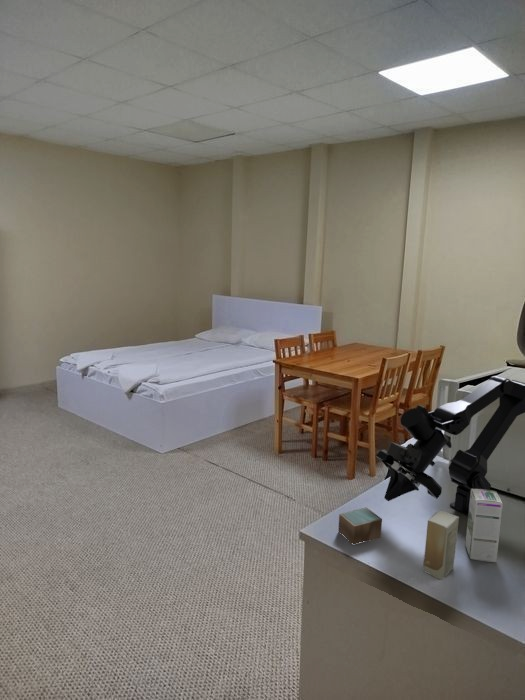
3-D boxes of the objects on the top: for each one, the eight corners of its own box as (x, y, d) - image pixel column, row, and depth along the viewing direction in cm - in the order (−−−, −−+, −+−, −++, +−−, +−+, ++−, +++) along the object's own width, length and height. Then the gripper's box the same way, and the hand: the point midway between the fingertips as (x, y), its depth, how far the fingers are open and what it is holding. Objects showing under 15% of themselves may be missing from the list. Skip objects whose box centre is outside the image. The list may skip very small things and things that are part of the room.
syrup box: (497, 563, 108) (505, 502, 105) (468, 559, 109) (475, 499, 106) (490, 548, 113) (498, 490, 111) (463, 544, 114) (470, 487, 112)
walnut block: (366, 507, 121) (339, 513, 117) (382, 518, 116) (354, 526, 112) (365, 525, 122) (338, 532, 118) (380, 538, 117) (353, 546, 113)
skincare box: (434, 559, 109) (440, 508, 106) (454, 567, 106) (460, 516, 103) (421, 571, 104) (426, 519, 102) (441, 581, 101) (447, 527, 99)
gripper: (384, 419, 126) (345, 466, 124) (436, 445, 109) (393, 500, 107) (406, 443, 131) (369, 489, 128) (459, 472, 114) (419, 525, 112)
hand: (386, 499), depth 119 cm, fingers closed
